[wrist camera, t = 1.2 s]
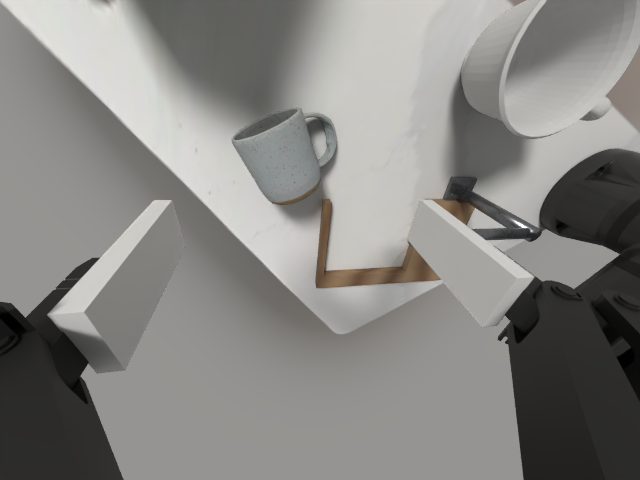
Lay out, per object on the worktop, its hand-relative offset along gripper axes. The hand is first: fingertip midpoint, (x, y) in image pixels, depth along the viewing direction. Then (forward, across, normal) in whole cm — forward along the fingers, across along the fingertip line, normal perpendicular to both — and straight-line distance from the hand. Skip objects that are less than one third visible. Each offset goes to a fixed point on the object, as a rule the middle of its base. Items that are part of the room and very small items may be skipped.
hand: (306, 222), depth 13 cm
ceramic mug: (+19, 0, 0) cm, 19 cm away
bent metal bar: (+19, -20, +6) cm, 28 cm away
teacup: (+19, -24, -9) cm, 32 cm away
